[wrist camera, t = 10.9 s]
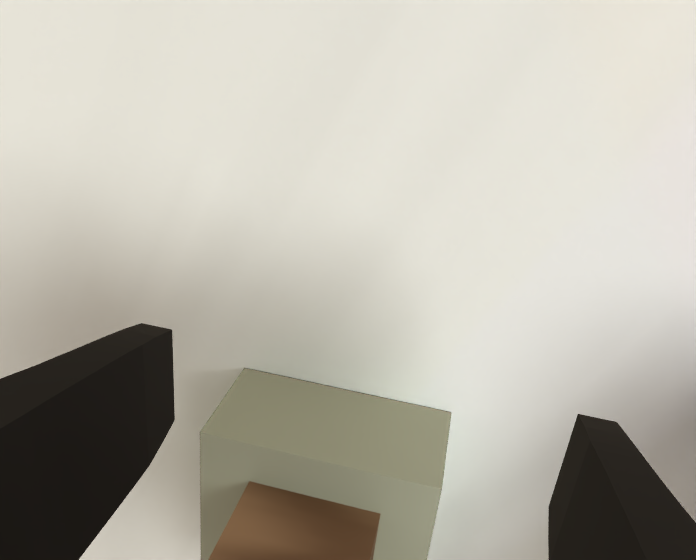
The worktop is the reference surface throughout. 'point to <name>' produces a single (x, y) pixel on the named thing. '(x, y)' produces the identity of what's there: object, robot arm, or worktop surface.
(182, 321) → the worktop surface
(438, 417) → the sage base block
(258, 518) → the walnut cube
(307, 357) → the worktop surface
